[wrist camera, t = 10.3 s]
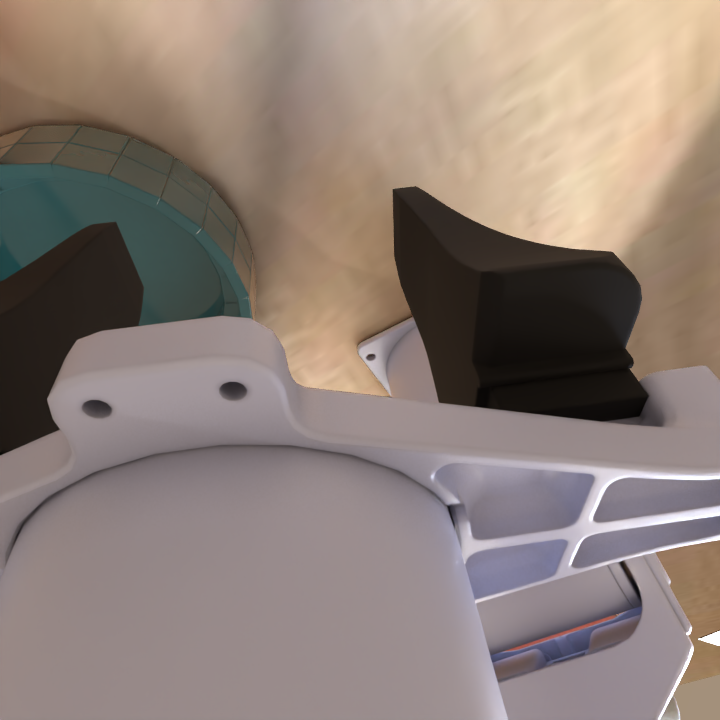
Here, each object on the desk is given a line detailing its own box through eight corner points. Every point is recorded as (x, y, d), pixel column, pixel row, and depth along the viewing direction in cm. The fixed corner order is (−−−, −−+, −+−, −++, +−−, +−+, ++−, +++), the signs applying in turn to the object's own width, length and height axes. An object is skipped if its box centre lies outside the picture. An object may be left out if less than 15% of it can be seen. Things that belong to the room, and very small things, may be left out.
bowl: (307, 298, 27) (311, 352, 24) (116, 400, 30) (98, 460, 27) (108, 48, 18) (74, 81, 15) (-126, 227, 22) (-192, 284, 19)
